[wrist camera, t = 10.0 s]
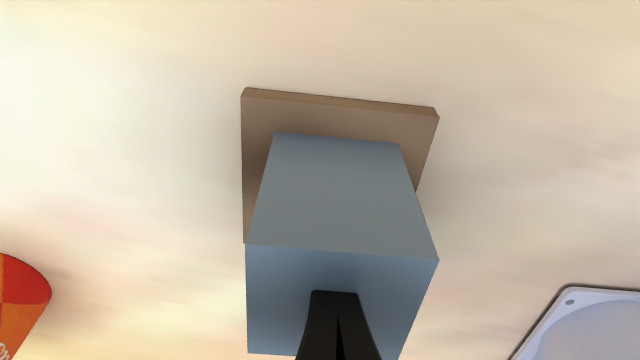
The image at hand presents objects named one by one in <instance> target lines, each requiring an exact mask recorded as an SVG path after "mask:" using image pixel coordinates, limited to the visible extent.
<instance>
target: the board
mask: <svg viewBox="0 0 640 360" xmlns="http://www.w3.org/2000/svg"><path fill="white" fill-rule="evenodd" d="M439 118H440V117H439V116H438V114H437V113H436V111H435V109H434V108H431V107H422V106H413V105H403V104H394V103H385V102H375V101H366V100H357V99H347V98H338V97H329V96H320V95H310V94H301V93H292V92H282V91H273V90H264V89H254V88H245V89H244V91H243V93H242V95H241V143H242V194H243V243H245V242H246V239H247V235H248V231H249V227H250V223H251V220H252V216H253V212H254V208H255V204H256V201H257V197H258V193H259V189H260V185H261V182H262V178H263V174H264V170H265V166H266V163H267V159H268V155H269V151H270V147H271V144H272V140H273V136H274V132H275V131H276V132H286V133H297V134H307V135H317V136H328V137H338V138H348V139H359V140H369V141H379V142H390V143H398V146H399V148H400V151H401V154H402V157H403V160H404V162H405V165H406V168H407V171H408V174H409V176H410V179H411V182H412V185H413V188H414V190H415V193H416V190H417V186H418V183H419V180H420V177H421V174H422V171H423V168H424V165H425V162H426V158H427V155H428V152H429V149H430V146H431V143H432V140H433V137H434V134H435V131H436V127H437V124H438V121H439Z"/></svg>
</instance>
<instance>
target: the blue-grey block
mask: <svg viewBox="0 0 640 360" xmlns="http://www.w3.org/2000/svg"><path fill="white" fill-rule="evenodd" d="M438 262H439V258H438V255H437V252H436V249H435V246H434V244H433V241H432V238H431V235H430V232H429V230H428V227H427V224H426V221H425V218H424V216H423V213H422V210H421V207H420V204H419V202H418V199H417V196H416V193H415V190H414V188H413V185H412V182H411V179H410V176H409V174H408V171H407V168H406V165H405V162H404V160H403V157H402V154H401V151H400V148H399V146H398V143H390V142H379V141H369V140H359V139H348V138H338V137H328V136H317V135H307V134H297V133H286V132H276V131H275V132H274V136H273V140H272V144H271V147H270V151H269V155H268V159H267V163H266V166H265V170H264V174H263V178H262V182H261V185H260V189H259V193H258V197H257V201H256V204H255V208H254V212H253V216H252V220H251V223H250V227H249V231H248V235H247V239H246V242H245V264H246V306H247V347H248V353H254V354H269V355H284V356H296V355H297V352H298V349H299V346H300V343H301V340H302V336H303V333H304V329H305V325H306V322H307V317H308V310H309V303H310V296H311V292H312V291H314V290H326V291H339V292H352V293H357V294H358V295H359V298H360V302H361V305H362V308H363V311H364V314H365V317H366V320H367V323H368V326H369V328H370V331H371V334H372V336H373V339H374V341H375V344H376V346H377V349H378V351H379V353H380V356H381V358H382V360H398V358H399V356H400V353H401V351H402V348H403V346H404V344H405V341H406V339H407V336H408V334H409V332H410V329H411V327H412V324H413V322H414V320H415V317H416V315H417V312H418V310H419V308H420V305H421V303H422V300H423V298H424V296H425V293H426V291H427V288H428V286H429V284H430V281H431V279H432V276H433V274H434V272H435V269H436V267H437V264H438Z"/></svg>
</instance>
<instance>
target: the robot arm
mask: <svg viewBox="0 0 640 360" xmlns="http://www.w3.org/2000/svg"><path fill="white" fill-rule="evenodd" d="M295 360H382V358H381V356H380V353H379V351H378V349H377V346H376V344H375V341H374V339H373V336H372V334H371V331H370V328H369V326H368V323H367V320H366V317H365V314H364V311H363V308H362V305H361V302H360V298H359V295H358V294H357V293H352V292H339V291H326V290H314V291H312V292H311V296H310V303H309V310H308V317H307V322H306V325H305V329H304V333H303V336H302V340H301V343H300V346H299V349H298V352H297V355H296V358H295ZM511 360H640V292H633V291H621V290H609V289H597V288H585V287H568V288H566V289H565V290H564V291H563V292H562V293H561V295H560V296H559V297H558V298H557V300H556V301H555V302H554V304H553V305H552V306H551V308H550V309H549V310H548V312H547V313H546V314H545V316H544V317H543V318H542V319H541V321H540V322H539V323H538V325H537V326H536V327H535V329H534V330H533V331H532V333H531V334H530V335H529V337H528V338H527V339H526V341H525V342H524V343H523V344H522V346H521V347H520V348H519V350H518V351H517V352H516V354H515V355H514V356H513V358H512V359H511Z"/></svg>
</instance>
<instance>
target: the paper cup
mask: <svg viewBox="0 0 640 360" xmlns="http://www.w3.org/2000/svg"><path fill="white" fill-rule="evenodd" d="M50 298H51V289H50V286H49V284H48V282H47V281H46V280H45V278H44V277H43V276H42V275H41V274H40V273H39V272H38V271H36V270H35V269H34V268H32V267H31V266H29V265H28V264H26V263H24V262H22V261H20V260H18V259H16V258H14V257H11V256H8V255H5V254H2V253H0V360H11V359H12V358H13V356H14V355H15V353H16V352H17V350H18V349H19V347H20V346H21V344H22V343H23V341H24V340H25V338H26V337H27V335H28V334H29V332H30V331H31V329H32V328H33V326H34V325H35V323H36V322H37V320H38V318H39V317H40V315H41V314H42V312H43V311H44V309H45V307H46V306H47V304H48V302H49V300H50Z"/></svg>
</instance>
